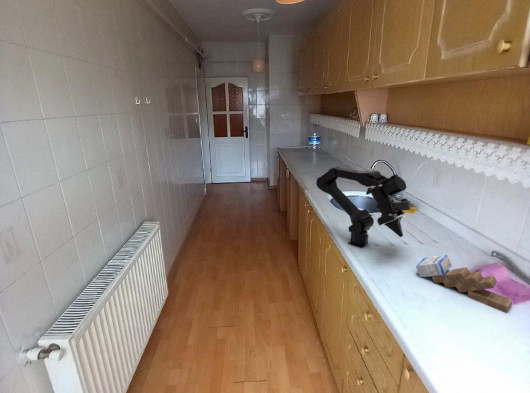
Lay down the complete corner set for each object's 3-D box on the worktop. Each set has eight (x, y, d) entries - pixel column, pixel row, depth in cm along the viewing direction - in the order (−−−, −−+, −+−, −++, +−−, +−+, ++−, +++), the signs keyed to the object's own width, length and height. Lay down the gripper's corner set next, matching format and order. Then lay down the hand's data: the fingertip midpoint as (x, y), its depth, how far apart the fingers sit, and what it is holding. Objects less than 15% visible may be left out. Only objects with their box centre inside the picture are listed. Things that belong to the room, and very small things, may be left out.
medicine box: (423, 257, 111) (447, 254, 105) (428, 268, 111) (452, 265, 104) (415, 265, 106) (440, 262, 100) (420, 277, 106) (445, 275, 99)
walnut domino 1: (431, 277, 102) (461, 272, 95) (437, 272, 105) (466, 267, 98) (434, 283, 102) (464, 279, 94) (440, 277, 105) (469, 273, 97)
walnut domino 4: (468, 291, 94) (507, 306, 86) (474, 285, 97) (512, 299, 89) (467, 297, 95) (506, 312, 87) (473, 290, 98) (511, 305, 90)
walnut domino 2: (443, 281, 100) (474, 277, 92) (448, 276, 103) (479, 271, 95) (446, 287, 99) (478, 283, 92) (451, 281, 103) (483, 277, 95)
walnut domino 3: (455, 286, 97) (489, 281, 89) (460, 280, 100) (493, 275, 93) (459, 292, 97) (493, 288, 89) (463, 286, 100) (497, 281, 92)
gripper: (396, 193, 106) (418, 233, 103) (407, 189, 121) (426, 225, 118) (368, 205, 112) (388, 244, 109) (382, 201, 127) (399, 234, 124)
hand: (401, 236), depth 115 cm, fingers closed
